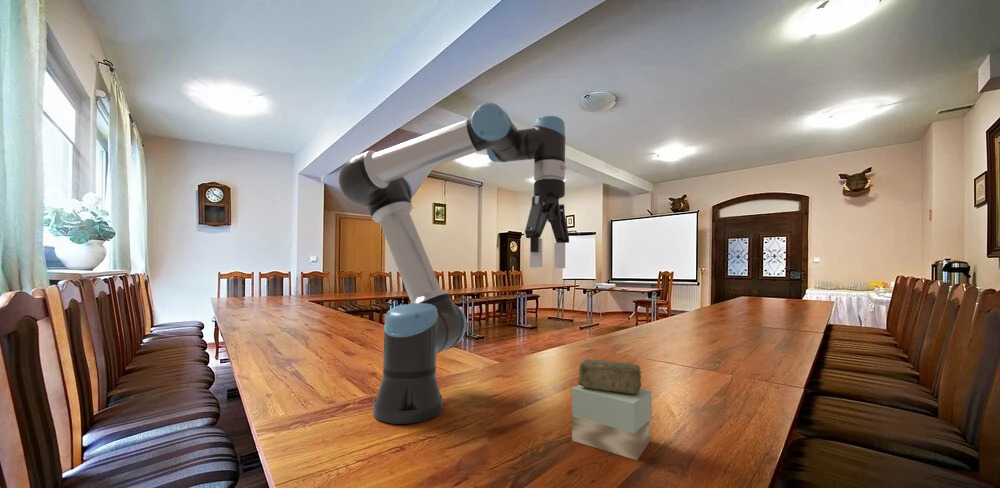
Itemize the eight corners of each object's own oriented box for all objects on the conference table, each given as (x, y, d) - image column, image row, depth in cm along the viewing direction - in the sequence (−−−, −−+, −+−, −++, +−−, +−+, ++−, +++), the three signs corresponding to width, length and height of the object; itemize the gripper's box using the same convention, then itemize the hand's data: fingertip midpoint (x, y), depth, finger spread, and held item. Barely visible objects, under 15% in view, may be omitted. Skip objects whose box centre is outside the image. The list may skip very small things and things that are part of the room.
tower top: (571, 414, 71) (571, 388, 71) (593, 402, 78) (593, 378, 78) (633, 433, 63) (633, 403, 63) (651, 418, 70) (651, 391, 70)
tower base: (572, 443, 70) (572, 416, 70) (590, 427, 77) (590, 402, 78) (637, 463, 63) (636, 433, 63) (650, 443, 70) (649, 416, 71)
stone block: (640, 397, 66) (640, 369, 67) (576, 389, 71) (576, 362, 71) (641, 388, 72) (641, 362, 72) (582, 381, 76) (582, 356, 77)
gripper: (541, 166, 78) (540, 267, 76) (581, 189, 99) (581, 268, 98) (510, 171, 82) (508, 266, 80) (555, 192, 103) (555, 268, 102)
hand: (548, 267), depth 89 cm, fingers open, 13 cm apart
